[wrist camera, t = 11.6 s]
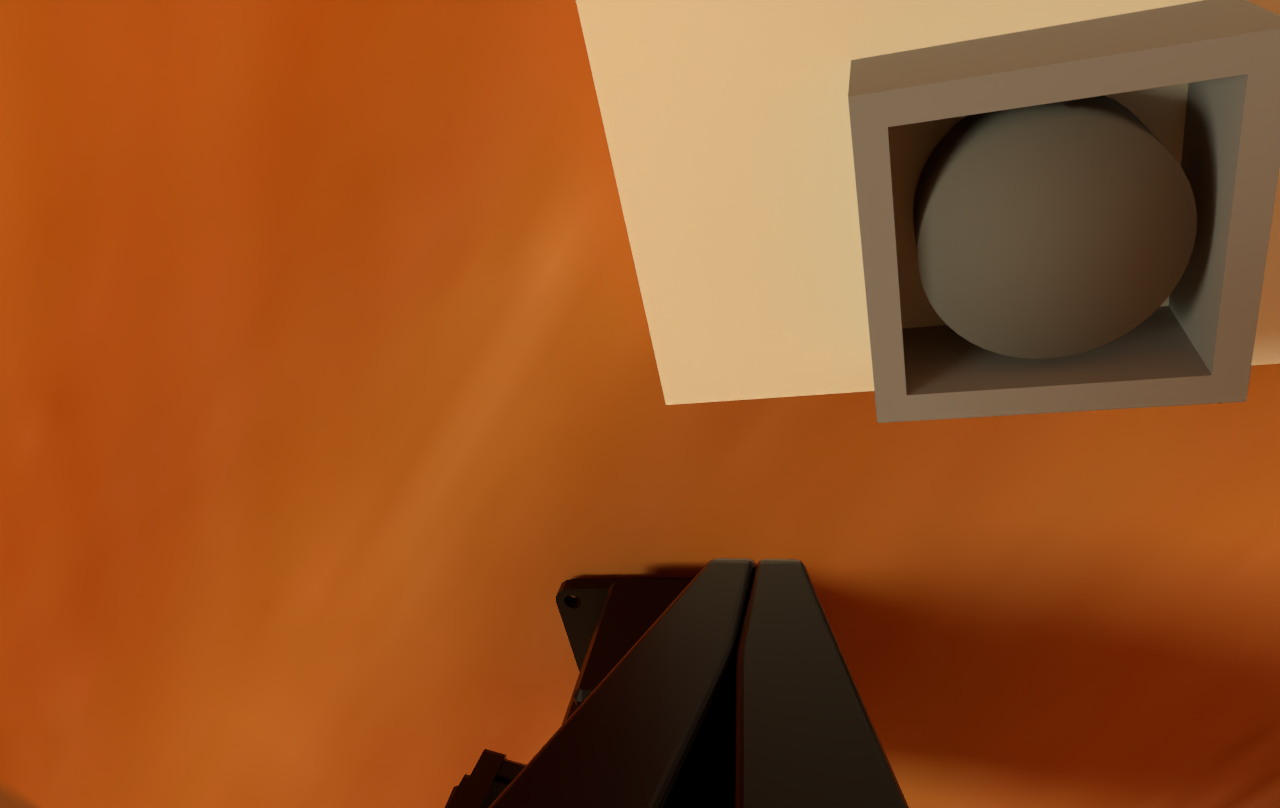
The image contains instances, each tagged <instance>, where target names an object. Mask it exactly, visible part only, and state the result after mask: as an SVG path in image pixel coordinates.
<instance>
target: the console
mask: <svg viewBox="0 0 1280 808" xmlns="http://www.w3.org/2000/svg"><path fill="white" fill-rule="evenodd" d="M576 3H577V8H578V12H579V17H580V21H581V26H582V30H583V35H584V39H585V44H586V48H587V53H588V57H589V62H590V66H591V71H592V75H593V80H594V84H595V88H596V93H597V97H598V102H599V106H600V111H601V115H602V120H603V124H604V129H605V133H606V138H607V142H608V147H609V151H610V156H611V160H612V165H613V169H614V174H615V178H616V183H617V187H618V192H619V196H620V201H621V205H622V210H623V214H624V219H625V223H626V228H627V232H628V237H629V241H630V245H631V250H632V254H633V259H634V263H635V268H636V272H637V277H638V281H639V286H640V290H641V295H642V299H643V304H644V308H645V313H646V317H647V322H648V326H649V331H650V335H651V340H652V344H653V349H654V353H655V358H656V362H657V367H658V371H659V376H660V380H661V385H662V389H663V394H664V398H665V403H666V405H673V404H688V403H703V402H717V401H732V400H747V399H762V398H776V397H791V396H806V395H821V394H836V393H850V392H865V391H875V401H876V412H877V423H883V422H900V421H918V420H935V419H952V418H970V417H987V416H1004V415H1021V414H1039V413H1056V412H1073V411H1090V410H1108V409H1125V408H1142V407H1160V406H1177V405H1194V404H1211V403H1229V402H1246V399H1247V392H1248V385H1249V378H1250V371H1251V365H1264V364H1279V363H1280V0H576ZM1103 95H1105V96H1107V97H1109V98H1111V99H1114V100H1116V101H1117V102H1119V103H1120V104H1122V105H1123V106H1124V107H1126V108H1127V109H1129V110H1130V111H1131V112H1132V113H1133V114H1134V115H1135V116H1136V117H1137V118H1138V119H1139V120H1140V121H1141V122H1142V123H1143V124H1144V125H1145V126H1146V127H1147V128H1148V129H1149V130H1150V132H1151V133H1152V134H1153V135H1154V136H1155V137H1156V138H1157V139H1158V140H1159V141H1160V142H1161V143H1162V145H1163V146H1164V147H1165V148H1166V149H1167V150H1168V151H1169V152H1170V153H1171V154H1172V156H1173V157H1174V158H1175V160H1176V161H1177V162H1178V163H1179V165H1180V166H1181V167H1182V169H1183V171H1184V173H1185V175H1186V177H1187V179H1188V181H1189V183H1190V186H1191V189H1192V192H1193V195H1194V198H1195V205H1196V212H1197V230H1196V236H1195V242H1194V248H1193V251H1192V254H1191V257H1190V260H1189V263H1188V265H1187V267H1186V269H1185V271H1184V273H1183V275H1182V277H1181V279H1180V281H1179V282H1178V284H1177V285H1176V287H1175V288H1174V290H1173V291H1172V293H1171V294H1170V295H1169V296H1168V298H1167V299H1166V300H1165V301H1164V302H1163V303H1162V305H1161V306H1160V307H1159V308H1158V309H1157V310H1156V311H1155V312H1154V313H1152V314H1151V315H1150V316H1149V317H1148V318H1147V319H1146V320H1145V321H1143V322H1142V323H1141V324H1139V325H1138V326H1137V327H1135V328H1134V329H1133V330H1131V331H1129V332H1128V333H1126V334H1124V335H1123V336H1121V337H1119V338H1118V339H1116V340H1114V341H1111V342H1109V343H1107V344H1105V345H1103V346H1100V347H1098V348H1095V349H1092V350H1089V351H1086V352H1083V353H1079V354H1074V355H1070V356H1065V357H1057V358H1048V359H1029V358H1017V357H1012V356H1007V355H1002V354H998V353H995V352H992V351H989V350H986V349H983V348H981V347H979V346H977V345H975V344H973V343H971V342H969V341H968V340H966V339H965V338H963V337H961V336H960V335H958V334H957V333H956V332H955V331H954V330H952V329H951V328H950V327H949V326H948V325H947V324H946V323H945V322H944V321H943V320H942V319H941V318H940V316H939V315H938V314H937V313H936V311H935V310H934V308H933V307H932V305H931V304H930V302H929V300H928V298H927V295H926V293H925V291H924V289H923V285H922V282H921V279H920V275H919V267H918V260H917V251H916V241H915V232H914V223H913V203H914V197H915V191H916V187H917V184H918V180H919V177H920V175H921V172H922V170H923V168H924V166H925V163H926V161H927V160H928V158H929V156H930V155H931V153H932V151H933V150H934V148H935V147H936V146H937V144H938V143H939V142H940V141H941V139H942V138H943V137H944V136H945V135H946V134H947V133H948V132H949V131H950V130H951V129H952V128H953V127H954V126H955V125H956V124H957V123H958V122H959V121H960V120H962V119H963V118H964V117H965V116H967V115H974V114H980V113H987V112H994V111H1001V110H1008V109H1014V108H1021V107H1028V106H1035V105H1042V104H1048V103H1055V102H1062V101H1069V100H1075V99H1082V98H1089V97H1096V96H1103Z"/></svg>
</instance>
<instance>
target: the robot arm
mask: <svg viewBox="0 0 1280 808" xmlns="http://www.w3.org/2000/svg"><path fill="white" fill-rule="evenodd" d="M570 595H572V596H576V597H577V598H579V599H576V598H573V597H571V596H570ZM556 603H557V606H558V609H559V612H560V615H561V618H562V621H563V624H564V627H565V630H566V633H567V636H568V639H569V642H570V645H571V648H572V651H573V654H574V657H575V660H576V663H577V666H578V669H579V672H580V674H579V677H578V679H577V682H576V685H575V688H574V691H573V694H572V697H571V700H570V703H569V706H568V708H567V711H566V714H565V717H564V720H563V723H562V726H561V727H560V728H559V730H558V731H557V732H556V733H555V734H554V735H553V736H552V737H551V738H550V740H549V741H548V742H547V743H546V744H545V745H544V746H543V747H542V749H541V750H540V751H539V752H538V753H537V754H536V755H535V756H534V757H533V759H532V760H531V761H530V762H529V763H528V764H527V765H525V764H521V763H518V762H514V761H511V760H508V759H506V755H504V754H501V753H498V752H494V751H491V750H487V749H484V751H483V753H482V755H481V757H480V758H479V760H478V762H477V764H476V766H475V768H474V770H473V771H472V773H471V775H466V774H465V775H464V777H463V779H462V781H461V782H460V784H459V786H455V787H454V788H453V790H452V792H451V795H450V797H449V799H448V802H447V804H446V806H445V808H909V807H908V805H907V802H906V800H905V798H904V795H903V793H902V791H901V788H900V786H899V784H898V781H897V779H896V777H895V774H894V772H893V770H892V767H891V765H890V763H889V760H888V758H887V756H886V753H885V751H884V749H883V746H882V744H881V742H880V739H879V737H878V735H877V732H876V730H875V728H874V725H873V723H872V721H871V718H870V716H869V714H868V711H867V709H866V707H865V704H864V702H863V700H862V697H861V695H860V693H859V691H858V688H857V686H856V684H855V681H854V679H853V677H852V674H851V672H850V670H849V667H848V665H847V663H846V660H845V658H844V656H843V653H842V651H841V649H840V646H839V644H838V642H837V639H836V637H835V635H834V632H833V630H832V628H831V625H830V623H829V621H828V618H827V616H826V614H825V611H824V609H823V607H822V604H821V602H820V600H819V597H818V595H817V593H816V590H815V588H814V586H813V583H812V581H811V579H810V576H809V574H808V572H807V569H806V567H805V565H804V564H803V563H802V562H801V561H800V560H797V559H762V560H761V561H759V562H758V564H757V565H756V563H755V562H754V561H753V560H751V559H733V558H717V559H713V560H711V561H710V562H708V563H707V564H706V565H705V567H704V568H703V569H702V570H701V571H700V572H699V573H698V574H697V575H696V577H695V578H635V579H571V580H566V581H564V582H563V583H562V584H561V586H560V588H559V591H558V593H557V596H556Z"/></svg>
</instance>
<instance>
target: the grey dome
mask: <svg viewBox="0 0 1280 808" xmlns="http://www.w3.org/2000/svg"><path fill="white" fill-rule="evenodd" d="M913 223H914V232H915V241H916V251H917V260H918V267H919V275H920V279H921V282H922V285H923V289H924V291H925V293H926V295H927V298H928V300H929V302H930V304H931V305H932V307H933V308H934V310H935V311H936V313H937V314H938V315H939V316H940V318H941V319H942V320H943V321H944V322H945V323H946V324H947V325H948V326H949V327H950V328H951V329H952V330H954V331H955V332H956V333H957V334H958V335H960V336H961V337H963V338H965V339H966V340H968V341H969V342H971V343H973V344H975V345H977V346H979V347H981V348H983V349H986V350H989V351H992V352H995V353H998V354H1002V355H1007V356H1012V357H1017V358H1029V359H1048V358H1057V357H1065V356H1070V355H1074V354H1079V353H1083V352H1086V351H1089V350H1092V349H1095V348H1098V347H1100V346H1103V345H1105V344H1107V343H1109V342H1111V341H1114V340H1116V339H1118V338H1119V337H1121V336H1123V335H1124V334H1126V333H1128V332H1129V331H1131V330H1133V329H1134V328H1135V327H1137V326H1138V325H1139V324H1141V323H1142V322H1143V321H1145V320H1146V319H1147V318H1148V317H1149V316H1150V315H1151V314H1152V313H1154V312H1155V311H1156V310H1157V309H1158V308H1159V307H1160V306H1161V305H1162V303H1163V302H1164V301H1165V300H1166V299H1167V298H1168V296H1169V295H1170V294H1171V293H1172V291H1173V290H1174V288H1175V287H1176V285H1177V284H1178V282H1179V281H1180V279H1181V277H1182V275H1183V273H1184V271H1185V269H1186V267H1187V265H1188V263H1189V260H1190V257H1191V254H1192V251H1193V248H1194V242H1195V236H1196V230H1197V212H1196V205H1195V198H1194V195H1193V192H1192V189H1191V186H1190V183H1189V181H1188V179H1187V177H1186V175H1185V173H1184V171H1183V169H1182V167H1181V166H1180V165H1179V163H1178V162H1177V161H1176V160H1175V158H1174V157H1173V156H1172V154H1171V153H1170V152H1169V151H1168V150H1167V149H1166V148H1165V147H1164V146H1163V145H1162V143H1161V142H1160V141H1159V140H1158V139H1157V138H1156V137H1155V136H1154V135H1153V134H1152V133H1151V132H1150V130H1149V129H1148V128H1147V127H1146V126H1145V125H1144V124H1143V123H1142V122H1141V121H1140V120H1139V119H1138V118H1137V117H1136V116H1135V115H1134V114H1133V113H1132V112H1131V111H1130V110H1129V109H1127V108H1126V107H1124V106H1123V105H1122V104H1120V103H1119V102H1117V101H1116V100H1114V99H1111V98H1109V97H1107V96H1105V95H1103V96H1096V97H1089V98H1082V99H1075V100H1069V101H1062V102H1055V103H1048V104H1042V105H1035V106H1028V107H1021V108H1014V109H1008V110H1001V111H994V112H987V113H980V114H974V115H967V116H965V117H964V118H963V119H962V120H960V121H959V122H958V123H957V124H956V125H955V126H954V127H953V128H952V129H951V130H950V131H949V132H948V133H947V134H946V135H945V136H944V137H943V138H942V139H941V141H940V142H939V143H938V144H937V146H936V147H935V148H934V150H933V151H932V153H931V155H930V156H929V158H928V160H927V161H926V163H925V166H924V168H923V170H922V172H921V175H920V177H919V180H918V184H917V187H916V191H915V197H914V203H913Z"/></svg>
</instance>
